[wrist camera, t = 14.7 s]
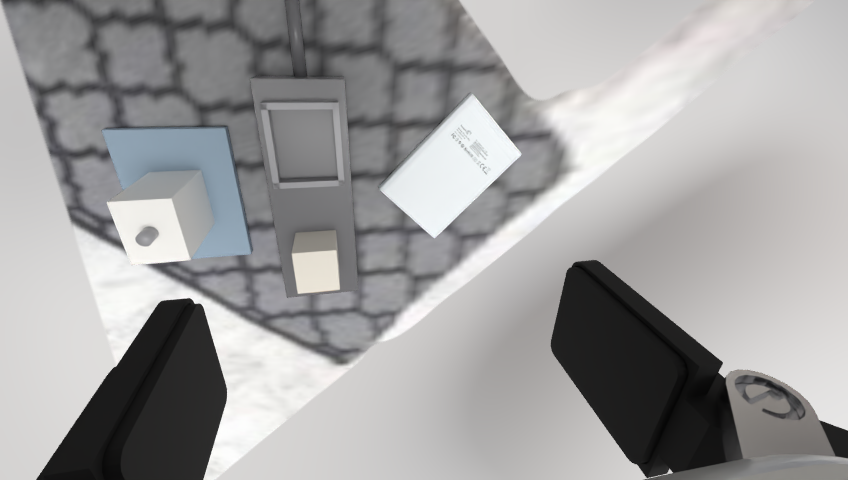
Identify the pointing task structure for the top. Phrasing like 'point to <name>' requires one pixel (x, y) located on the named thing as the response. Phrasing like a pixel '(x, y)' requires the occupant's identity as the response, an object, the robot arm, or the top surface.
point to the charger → (163, 216)
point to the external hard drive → (451, 167)
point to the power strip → (308, 172)
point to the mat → (188, 151)
